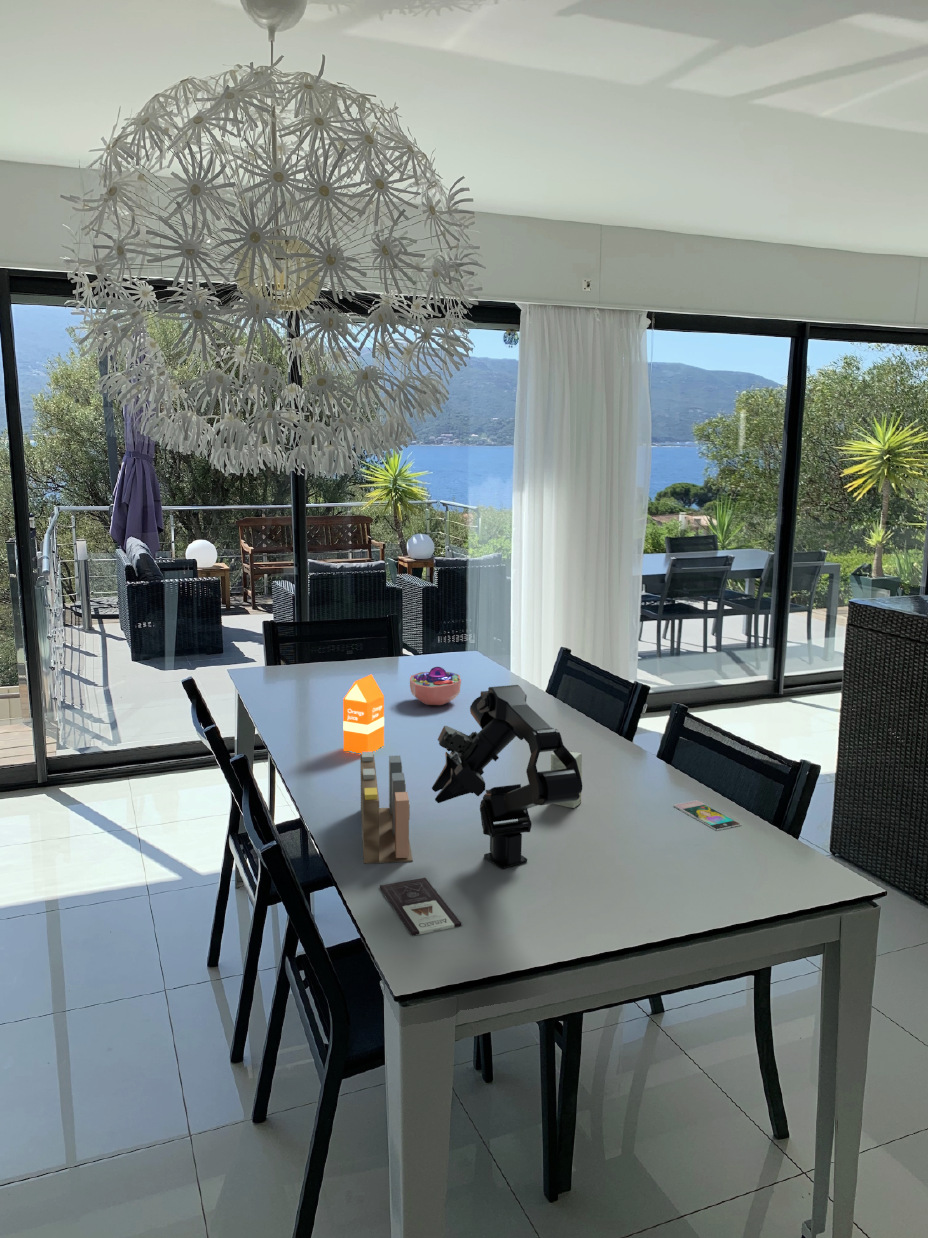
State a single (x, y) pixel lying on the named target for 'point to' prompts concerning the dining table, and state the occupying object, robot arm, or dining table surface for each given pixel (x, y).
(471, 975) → the dining table surface
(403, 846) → the terracotta key
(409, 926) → the chocolate bar
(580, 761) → the skincare box
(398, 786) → the middle slate key
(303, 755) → the dining table surface
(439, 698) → the cell model
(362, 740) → the orange juice
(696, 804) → the smartphone
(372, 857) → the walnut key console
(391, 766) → the key
